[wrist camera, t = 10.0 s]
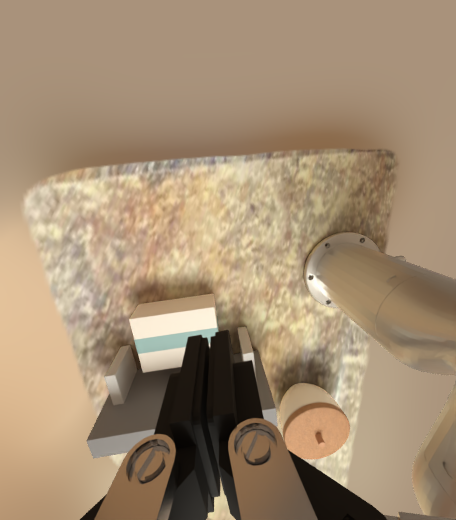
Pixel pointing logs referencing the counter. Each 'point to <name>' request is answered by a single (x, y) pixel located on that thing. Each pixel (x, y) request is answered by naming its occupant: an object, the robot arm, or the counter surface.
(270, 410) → the display stand
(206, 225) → the counter surface
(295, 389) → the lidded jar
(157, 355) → the carton
